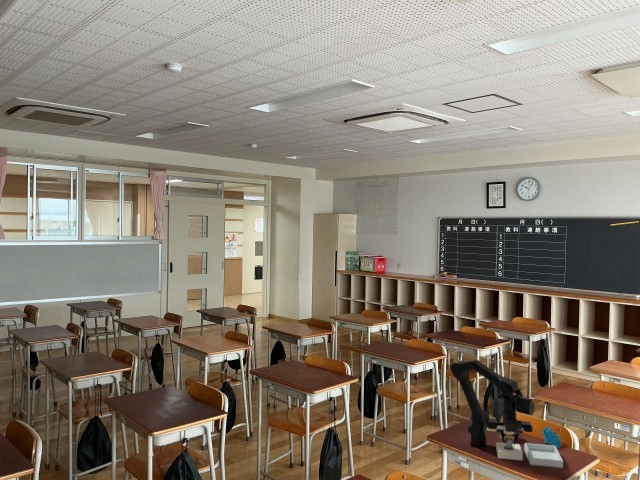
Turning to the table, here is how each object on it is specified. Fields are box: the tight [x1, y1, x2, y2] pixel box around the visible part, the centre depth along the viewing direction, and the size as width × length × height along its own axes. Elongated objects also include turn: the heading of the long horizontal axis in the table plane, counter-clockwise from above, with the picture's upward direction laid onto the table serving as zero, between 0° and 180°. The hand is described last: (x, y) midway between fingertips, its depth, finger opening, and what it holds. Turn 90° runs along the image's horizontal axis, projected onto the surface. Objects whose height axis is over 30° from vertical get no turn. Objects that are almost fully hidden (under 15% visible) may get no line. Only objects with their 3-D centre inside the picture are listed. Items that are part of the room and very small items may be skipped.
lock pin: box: [504, 432, 514, 450], centre depth 233 cm, size 4×4×9 cm
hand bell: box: [485, 396, 498, 433], centre depth 264 cm, size 8×8×16 cm
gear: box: [542, 426, 562, 449], centre depth 244 cm, size 11×6×10 cm
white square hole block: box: [495, 441, 524, 461], centre depth 233 cm, size 10×10×3 cm
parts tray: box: [523, 442, 564, 469], centre depth 229 cm, size 13×16×3 cm
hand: (509, 444), depth 233 cm, fingers closed on lock pin, 4 cm apart
